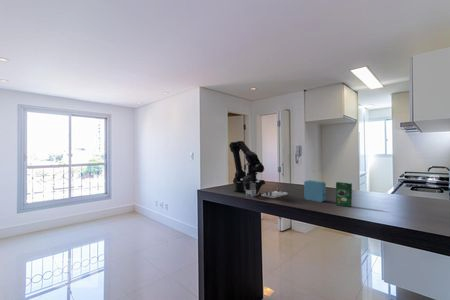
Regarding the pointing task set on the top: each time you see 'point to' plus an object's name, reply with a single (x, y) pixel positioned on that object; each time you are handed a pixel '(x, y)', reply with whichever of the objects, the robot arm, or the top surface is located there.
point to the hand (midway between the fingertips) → (252, 193)
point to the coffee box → (344, 194)
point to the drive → (251, 192)
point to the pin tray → (274, 194)
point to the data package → (315, 190)
